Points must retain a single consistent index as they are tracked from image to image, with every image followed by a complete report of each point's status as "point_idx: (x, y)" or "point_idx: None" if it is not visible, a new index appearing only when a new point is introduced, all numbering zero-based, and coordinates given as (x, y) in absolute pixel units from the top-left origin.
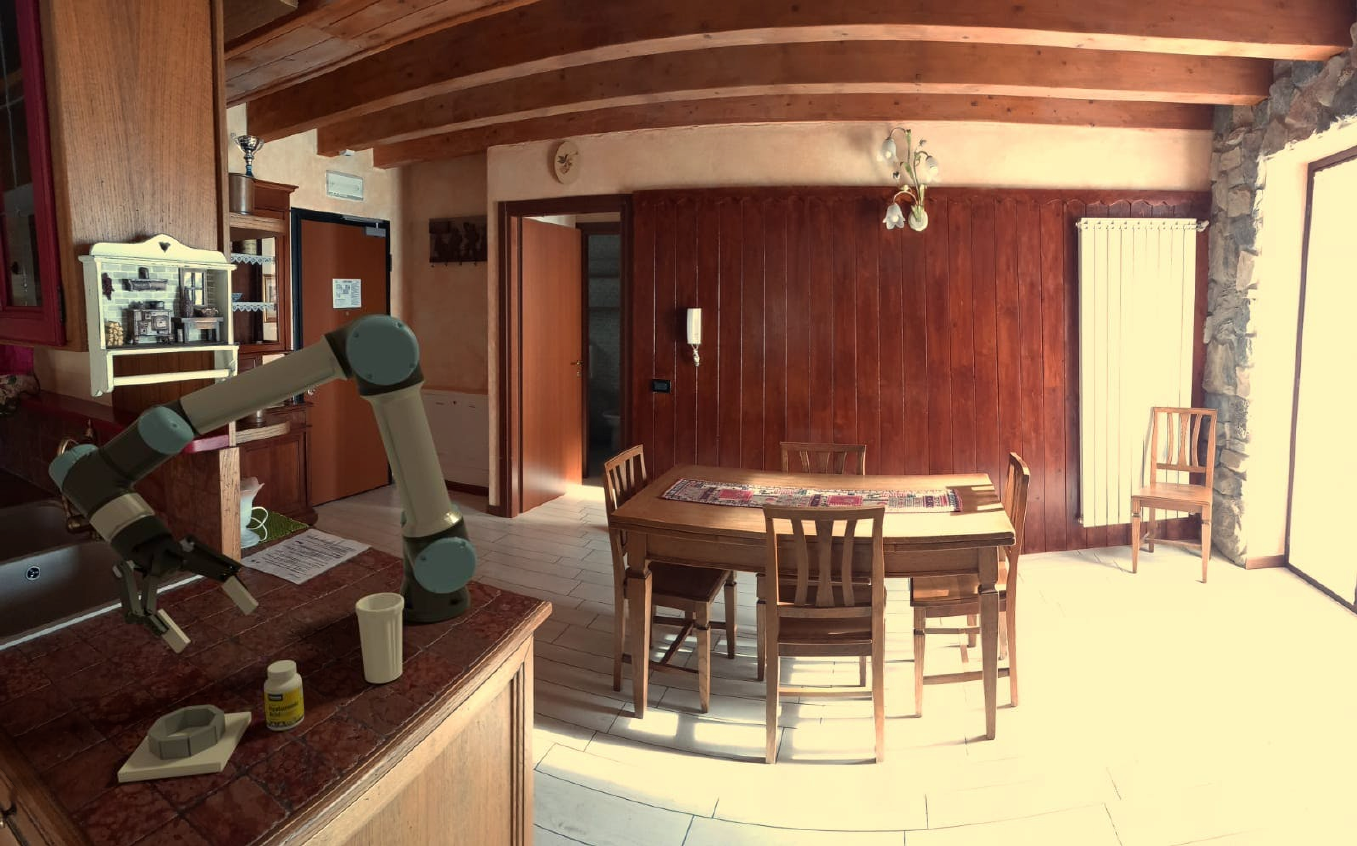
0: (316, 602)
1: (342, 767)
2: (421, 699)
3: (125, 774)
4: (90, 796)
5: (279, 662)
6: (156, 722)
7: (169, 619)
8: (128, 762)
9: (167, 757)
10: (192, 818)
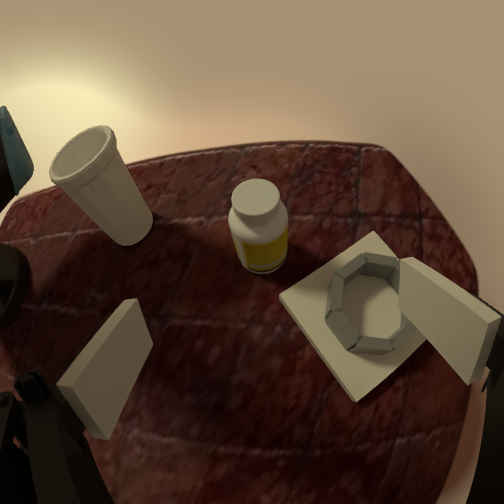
0: None
1: (299, 149)
2: (172, 164)
3: None
4: None
5: (245, 208)
6: (402, 339)
7: (460, 295)
8: None
9: None
10: (416, 204)
